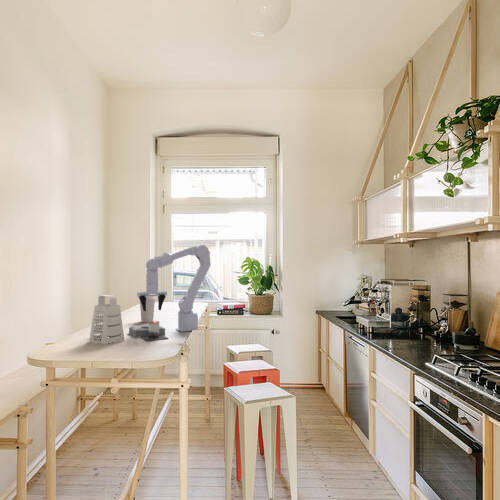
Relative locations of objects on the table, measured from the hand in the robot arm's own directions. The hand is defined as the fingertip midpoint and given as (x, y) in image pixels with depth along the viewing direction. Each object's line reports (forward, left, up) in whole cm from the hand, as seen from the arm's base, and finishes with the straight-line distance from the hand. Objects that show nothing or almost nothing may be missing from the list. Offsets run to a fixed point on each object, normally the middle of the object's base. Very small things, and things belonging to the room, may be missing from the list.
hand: (152, 310), depth 208 cm
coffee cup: (-7, -33, -11) cm, 35 cm away
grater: (+24, +13, -11) cm, 29 cm away
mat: (+4, +17, -10) cm, 20 cm away
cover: (+4, +16, -10) cm, 19 cm away
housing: (+4, +5, -10) cm, 12 cm away
